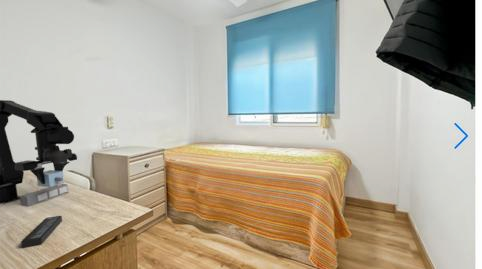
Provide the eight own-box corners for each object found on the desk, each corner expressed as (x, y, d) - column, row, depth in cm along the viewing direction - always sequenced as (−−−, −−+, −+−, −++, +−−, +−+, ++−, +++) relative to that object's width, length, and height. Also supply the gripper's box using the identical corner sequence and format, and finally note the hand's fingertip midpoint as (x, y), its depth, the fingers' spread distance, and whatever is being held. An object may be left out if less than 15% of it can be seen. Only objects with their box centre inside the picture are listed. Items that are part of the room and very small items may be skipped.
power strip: (21, 205, 86) (19, 193, 85) (62, 191, 100) (60, 181, 100) (28, 206, 85) (27, 194, 84) (68, 192, 99) (67, 182, 98)
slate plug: (34, 185, 86) (33, 173, 85) (49, 181, 91) (47, 169, 90) (55, 187, 83) (53, 175, 82) (69, 183, 87) (67, 171, 87)
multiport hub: (21, 250, 58) (19, 242, 58) (46, 224, 72) (45, 217, 71) (41, 246, 60) (40, 238, 60) (62, 221, 73) (62, 215, 73)
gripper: (31, 148, 74) (37, 192, 75) (84, 141, 91) (88, 176, 93) (10, 147, 77) (16, 189, 79) (66, 140, 95) (69, 174, 96)
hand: (51, 181), depth 87 cm, fingers closed on slate plug, 5 cm apart
